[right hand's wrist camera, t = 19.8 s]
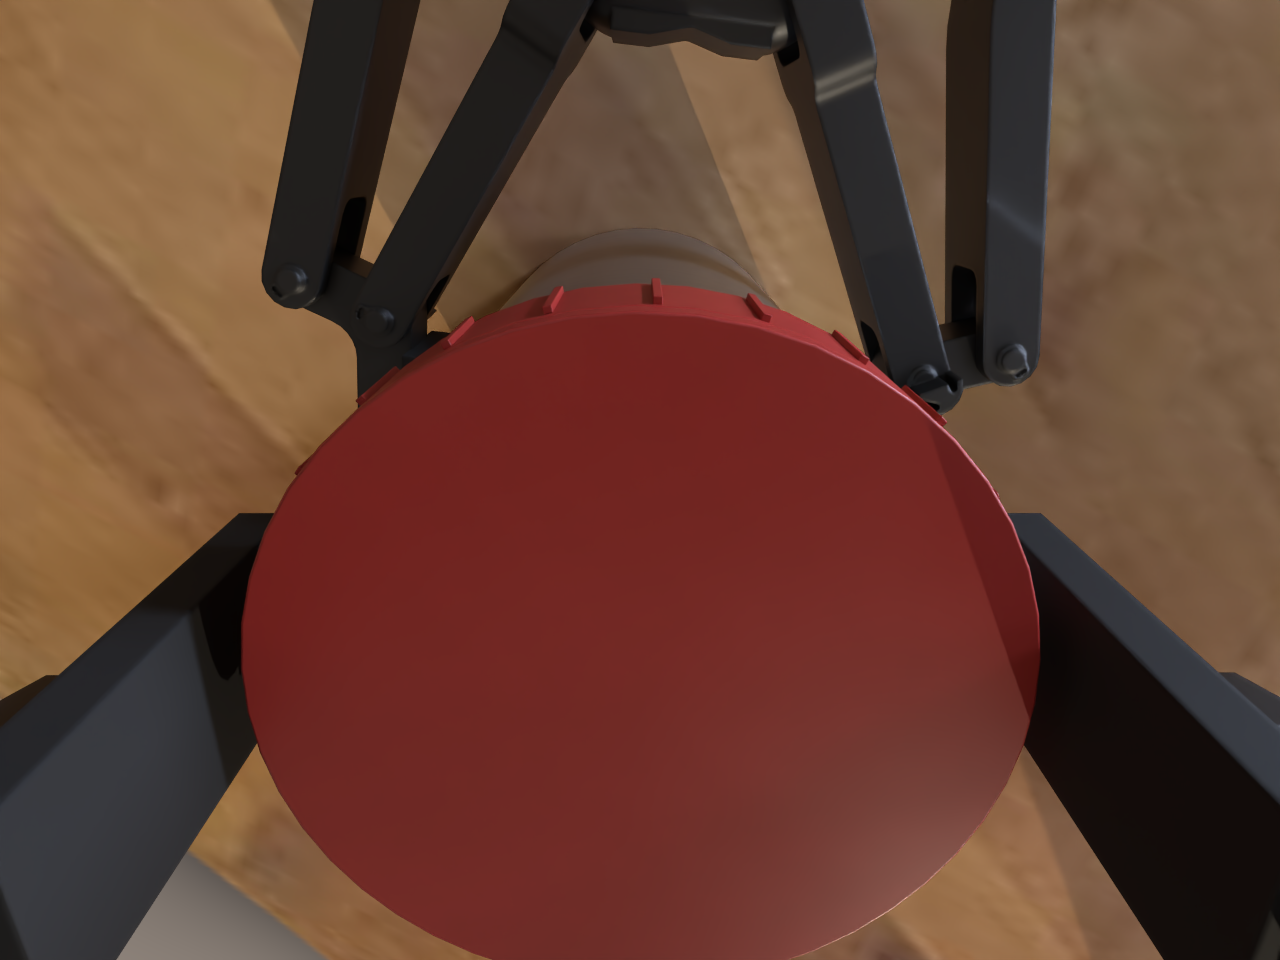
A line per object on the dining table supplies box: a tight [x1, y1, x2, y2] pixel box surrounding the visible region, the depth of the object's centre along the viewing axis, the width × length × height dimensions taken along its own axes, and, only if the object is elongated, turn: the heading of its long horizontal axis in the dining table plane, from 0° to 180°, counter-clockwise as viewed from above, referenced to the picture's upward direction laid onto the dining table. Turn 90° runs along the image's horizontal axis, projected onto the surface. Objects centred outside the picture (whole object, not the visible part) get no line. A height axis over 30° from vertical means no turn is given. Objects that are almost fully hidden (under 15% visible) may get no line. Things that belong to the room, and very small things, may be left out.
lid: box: [241, 278, 1040, 960], centre depth 11 cm, size 10×10×2 cm
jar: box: [499, 228, 781, 311], centre depth 18 cm, size 9×9×15 cm
